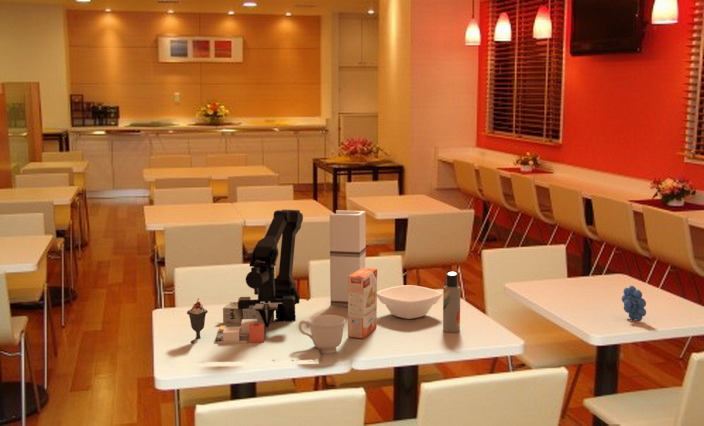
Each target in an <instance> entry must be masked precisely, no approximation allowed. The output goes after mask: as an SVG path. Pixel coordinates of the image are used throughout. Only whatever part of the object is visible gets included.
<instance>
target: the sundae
mask: <svg viewBox="0 0 704 426" xmlns="http://www.w3.org/2000/svg"><path fill="white" fill-rule="evenodd" d="M199 300H200V298H199V297H198V298H197V300H196V303H193V305H192V307H191V309H189V310H187V311H186V315H188V316H189V320H190V327H191V329H192V331H194V332H195V338H194V339H193V340H190V343H191V344H194V343H195V341H196V340H201V339H202V338H201V331H202V330H203V329H204V328H205V321H206V315H207V313H209V311H208V310H207V309H206V308H205V307H204V305H203V304H202V303H201V302H200V301H199Z"/></svg>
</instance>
